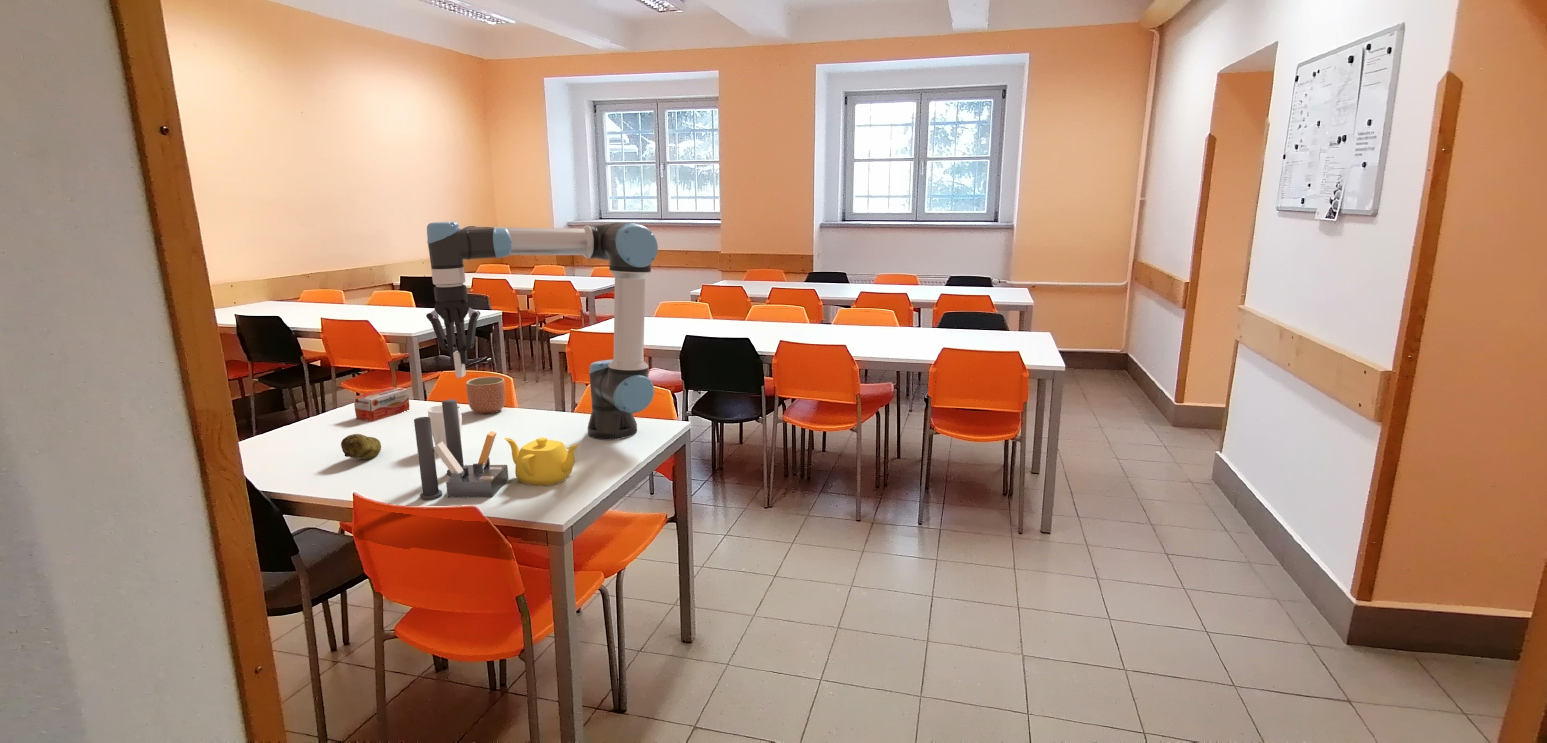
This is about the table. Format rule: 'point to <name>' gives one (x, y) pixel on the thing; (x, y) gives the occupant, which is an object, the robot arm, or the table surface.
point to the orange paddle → (487, 448)
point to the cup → (440, 423)
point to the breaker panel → (477, 481)
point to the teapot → (542, 461)
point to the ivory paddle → (448, 459)
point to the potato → (360, 446)
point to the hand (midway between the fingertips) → (461, 376)
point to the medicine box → (381, 403)
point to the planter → (486, 394)
